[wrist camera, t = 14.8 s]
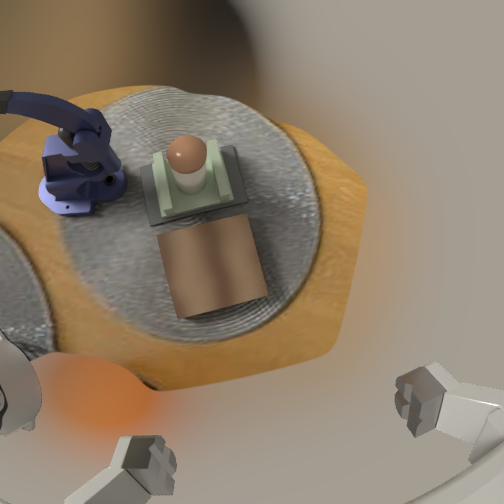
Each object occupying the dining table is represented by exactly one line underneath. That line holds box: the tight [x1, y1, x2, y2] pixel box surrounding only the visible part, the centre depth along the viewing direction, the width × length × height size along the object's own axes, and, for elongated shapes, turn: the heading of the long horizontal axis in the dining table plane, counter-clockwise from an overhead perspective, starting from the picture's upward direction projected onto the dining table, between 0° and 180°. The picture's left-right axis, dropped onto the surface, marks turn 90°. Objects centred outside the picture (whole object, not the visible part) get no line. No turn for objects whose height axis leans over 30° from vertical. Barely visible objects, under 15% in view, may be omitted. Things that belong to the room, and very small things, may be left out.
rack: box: [152, 139, 234, 218], centre depth 38 cm, size 10×8×4 cm
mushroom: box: [167, 136, 207, 195], centre depth 34 cm, size 4×4×9 cm
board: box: [157, 213, 269, 319], centre depth 38 cm, size 12×11×2 cm
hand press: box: [0, 90, 128, 216], centre depth 24 cm, size 19×9×28 cm, turn 92°
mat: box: [140, 145, 248, 226], centre depth 40 cm, size 14×9×1 cm, turn 105°
